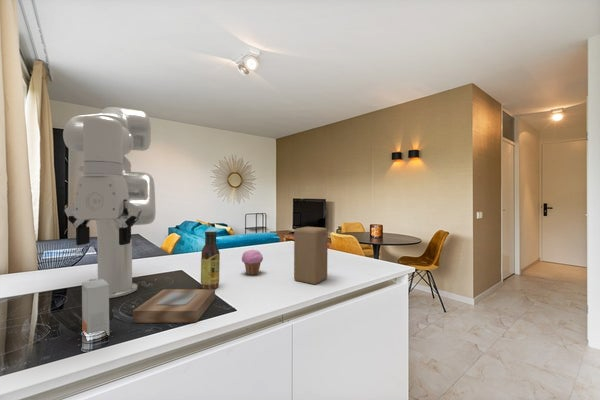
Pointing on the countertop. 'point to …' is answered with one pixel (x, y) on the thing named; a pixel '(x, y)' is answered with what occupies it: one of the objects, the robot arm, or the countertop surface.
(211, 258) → the sauce bottle
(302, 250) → the wooden block
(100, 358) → the countertop surface
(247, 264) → the cupcake
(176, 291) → the walnut picture frame
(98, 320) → the skincare box
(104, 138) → the robot arm
